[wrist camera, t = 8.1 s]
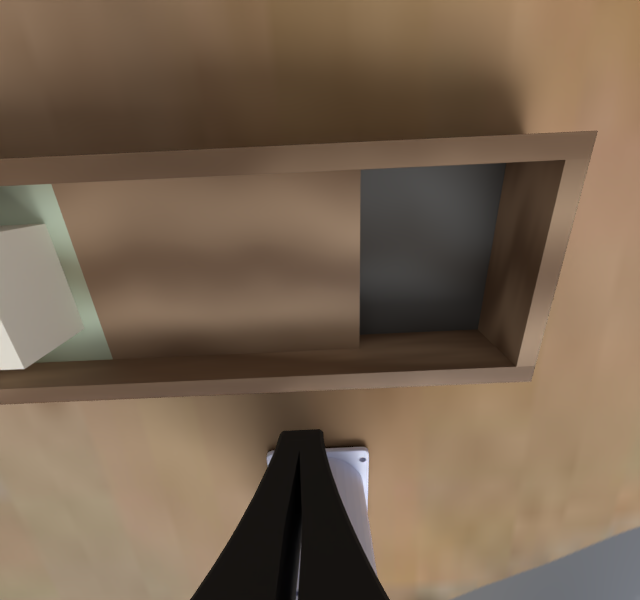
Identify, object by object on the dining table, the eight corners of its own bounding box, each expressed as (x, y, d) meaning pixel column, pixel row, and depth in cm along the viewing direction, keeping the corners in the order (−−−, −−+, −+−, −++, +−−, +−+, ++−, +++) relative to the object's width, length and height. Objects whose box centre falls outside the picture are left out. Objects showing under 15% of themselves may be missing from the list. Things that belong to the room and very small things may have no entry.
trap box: (488, 339, 21) (531, 381, 17) (18, 360, 21) (-55, 406, 17) (525, 141, 16) (597, 130, 12) (-76, 169, 16) (-209, 168, 12)
